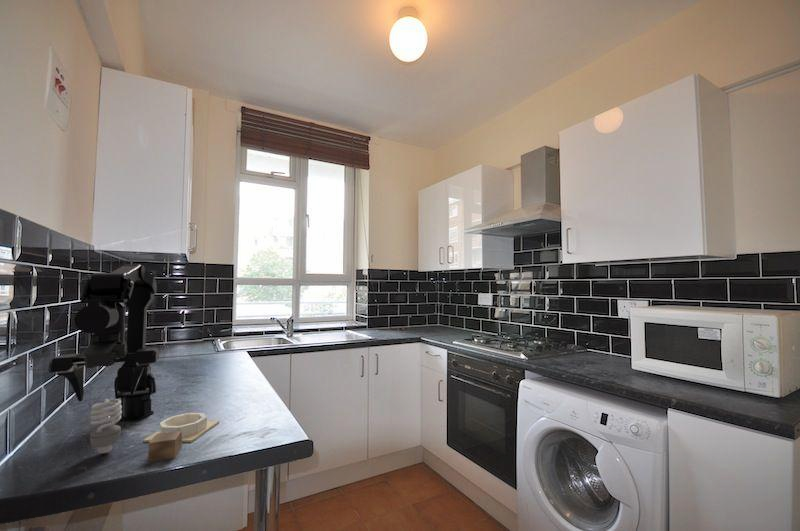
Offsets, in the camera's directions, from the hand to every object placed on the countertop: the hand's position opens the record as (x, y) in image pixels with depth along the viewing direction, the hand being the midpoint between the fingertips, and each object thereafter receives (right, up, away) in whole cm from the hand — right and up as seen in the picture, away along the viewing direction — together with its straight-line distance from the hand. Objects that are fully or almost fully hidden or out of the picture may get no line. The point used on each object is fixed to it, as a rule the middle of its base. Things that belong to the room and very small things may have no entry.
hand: (107, 397), depth 81 cm
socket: (+11, -13, +11) cm, 20 cm away
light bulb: (0, -13, -1) cm, 13 cm away
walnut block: (+14, -12, -1) cm, 19 cm away
